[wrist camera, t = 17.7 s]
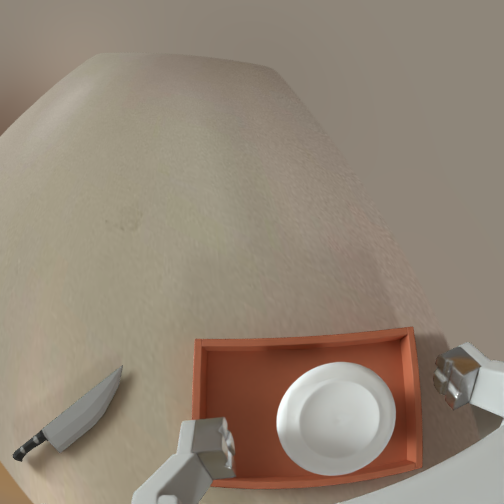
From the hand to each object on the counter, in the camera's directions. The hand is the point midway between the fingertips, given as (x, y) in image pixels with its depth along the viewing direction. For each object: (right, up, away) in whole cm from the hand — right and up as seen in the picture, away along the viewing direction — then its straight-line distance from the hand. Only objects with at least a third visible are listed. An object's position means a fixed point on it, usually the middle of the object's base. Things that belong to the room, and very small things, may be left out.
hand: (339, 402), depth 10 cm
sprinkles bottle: (+1, -7, +12) cm, 14 cm away
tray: (+1, -7, +12) cm, 14 cm away
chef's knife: (-21, -12, +12) cm, 27 cm away
